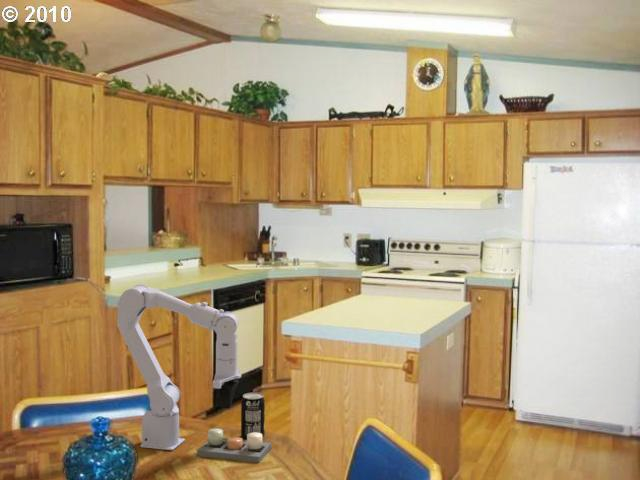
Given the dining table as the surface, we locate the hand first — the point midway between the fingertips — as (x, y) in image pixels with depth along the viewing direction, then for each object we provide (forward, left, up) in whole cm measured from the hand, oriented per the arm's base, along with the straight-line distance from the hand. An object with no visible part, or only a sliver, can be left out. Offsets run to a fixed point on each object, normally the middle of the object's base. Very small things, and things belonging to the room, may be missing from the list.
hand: (226, 407), depth 181 cm
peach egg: (+4, -4, -10) cm, 12 cm away
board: (+4, -4, -10) cm, 12 cm away
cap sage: (-1, -4, -8) cm, 9 cm away
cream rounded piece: (+10, -4, -8) cm, 13 cm away
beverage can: (+5, +7, -11) cm, 14 cm away
